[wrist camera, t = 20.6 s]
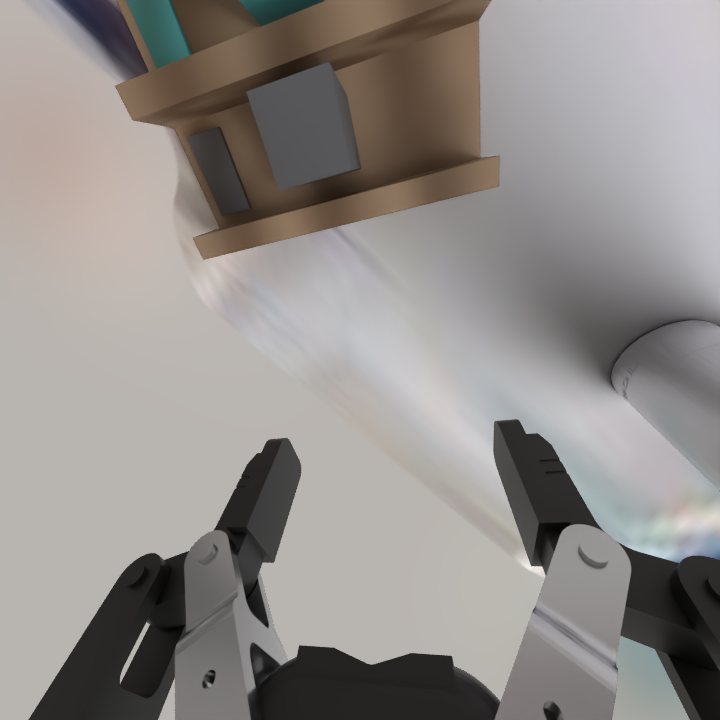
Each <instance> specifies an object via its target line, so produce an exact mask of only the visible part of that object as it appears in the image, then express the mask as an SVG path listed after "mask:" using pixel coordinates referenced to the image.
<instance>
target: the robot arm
mask: <svg viewBox="0 0 720 720" xmlns="http://www.w3.org/2000/svg"><path fill="white" fill-rule="evenodd" d="M611 380H612V385H613V386H614V388H615V390H616V391H617V392H618V393H619V394H620V395H621V396H622V397H623V398H624V399H625V400H626V401H627V402H628V403H629V404H631V405H632V406H633V407H634V408H635V409H636V410H637V411H638V412H639V413H640V414H641V415H642V416H643V417H644V418H645V419H646V420H647V421H648V422H649V423H650V424H651V425H652V426H653V427H654V428H655V429H656V430H657V431H658V432H659V433H660V434H661V435H662V436H663V437H664V438H665V439H666V440H668V441H669V442H670V443H671V444H672V445H673V446H674V447H675V448H676V449H677V450H678V451H679V452H680V453H681V454H682V455H683V456H684V457H685V458H686V459H687V460H688V461H689V462H690V463H691V464H692V465H693V466H694V467H695V468H696V469H698V470H699V471H700V472H701V473H702V474H703V475H704V476H705V477H706V478H707V479H708V480H709V481H710V482H711V483H712V484H713V485H714V486H715V487H716V488H717V489H718V490H719V491H720V326H718V325H716V324H713V323H711V322H706V321H700V320H689V321H682V322H676V323H672V324H669V325H665V326H663V327H660V328H658V329H656V330H653V331H651V332H649V333H648V334H646V335H644V336H642V337H641V338H639V339H638V340H637V341H635V342H634V343H633V344H631V345H630V346H629V347H628V348H627V349H626V350H625V351H624V352H623V353H622V354H621V355H620V357H619V358H618V360H617V361H616V363H615V365H614V367H613V370H612V376H611ZM494 458H495V463H496V466H497V469H498V472H499V475H500V478H501V481H502V484H503V486H504V489H505V492H506V495H507V498H508V501H509V504H510V507H511V509H512V512H513V515H514V518H515V521H516V524H517V527H518V530H519V532H520V535H521V538H522V541H523V544H524V547H525V550H526V553H527V555H528V558H529V561H530V564H531V566H542V567H543V569H544V572H545V575H546V577H545V580H544V583H543V586H542V589H541V593H540V595H539V598H538V600H537V603H536V606H535V608H534V610H533V612H532V614H531V617H530V620H529V622H528V625H527V628H526V631H525V634H524V637H523V640H522V643H521V645H520V648H519V651H518V654H517V657H516V660H515V663H514V666H513V668H512V671H511V674H510V677H509V680H508V683H507V685H506V688H505V691H504V694H503V697H502V700H501V702H500V701H499V699H498V698H497V697H496V696H495V695H494V694H493V693H492V692H491V691H490V690H489V689H488V688H487V687H486V686H485V685H484V684H482V683H481V682H480V681H479V680H477V679H476V678H475V677H473V676H472V675H470V674H468V673H467V672H465V671H464V670H461V669H459V668H457V667H455V666H454V664H453V659H452V656H444V655H430V654H416V653H410V654H407V655H404V656H401V657H398V658H394V659H391V660H387V661H384V662H381V663H378V664H374V665H370V664H366V663H365V662H362V661H360V660H358V659H356V658H354V657H352V656H350V655H348V654H346V653H343V652H341V651H339V650H337V649H335V648H329V647H314V646H299V649H298V654H297V657H295V658H294V659H292V660H290V661H288V659H287V656H286V653H285V650H284V648H283V645H282V643H281V641H280V639H279V637H278V635H277V633H276V631H275V628H274V624H273V620H272V617H271V612H270V608H269V605H268V601H267V597H266V593H265V589H264V585H263V582H262V578H261V575H260V573H259V571H260V568H261V565H262V562H271V563H272V562H273V563H274V561H275V557H276V554H277V551H278V548H279V544H280V541H281V538H282V535H283V531H284V528H285V525H286V522H287V519H288V515H289V512H290V509H291V506H292V502H293V499H294V496H295V493H296V489H297V486H298V483H299V480H300V476H301V464H300V461H299V459H298V457H297V455H296V453H295V451H294V449H293V447H292V444H291V442H290V441H289V439H288V438H281V439H270V440H268V441H267V442H266V444H265V446H264V449H263V451H262V452H261V453H257V454H256V455H255V456H254V458H253V459H252V460H251V461H250V462H249V463H248V464H247V466H246V468H245V470H244V472H243V474H242V478H241V479H240V480H239V482H238V484H237V488H236V489H235V490H234V492H233V494H232V496H231V498H230V500H229V502H228V504H227V506H226V508H225V510H224V512H223V514H222V516H221V518H220V520H219V522H218V524H217V526H216V528H215V529H214V531H212V532H209V533H207V534H205V535H204V536H202V537H201V538H200V539H199V540H198V541H197V542H196V543H195V544H194V545H193V546H192V547H191V549H190V551H188V552H185V553H182V554H179V555H177V556H174V557H171V558H169V559H166V560H163V559H162V558H161V557H160V556H159V555H157V554H155V553H150V554H146V555H144V556H142V557H140V558H138V559H137V560H135V561H134V562H133V563H132V564H130V566H128V567H127V568H126V569H125V571H124V572H123V573H122V574H121V576H120V577H119V578H118V580H117V582H116V583H115V585H114V586H113V588H112V589H111V591H110V593H109V594H108V596H107V597H106V599H105V600H104V602H103V604H102V605H101V607H100V608H99V610H98V611H97V613H96V615H95V616H94V618H93V619H92V621H91V622H90V624H89V626H88V627H87V629H86V630H85V632H84V633H83V635H82V637H81V638H80V640H79V642H78V643H77V644H76V646H75V648H74V649H73V651H72V652H71V654H70V655H69V657H68V659H67V660H66V662H65V663H64V665H63V667H62V668H61V670H60V671H59V673H58V674H57V676H56V677H55V679H54V681H53V682H52V684H51V685H50V687H49V688H48V690H47V692H46V693H45V695H44V696H43V698H42V700H41V701H40V703H39V704H38V706H37V707H36V709H35V710H34V712H33V713H32V715H31V717H30V718H29V720H158V718H159V715H160V713H161V710H162V708H163V705H164V703H165V700H166V698H167V695H168V693H169V690H170V688H171V685H172V683H173V680H174V678H175V720H612V716H613V709H614V703H615V697H616V691H617V682H618V669H617V666H616V657H617V651H618V645H619V639H620V635H621V636H623V637H626V638H629V639H631V640H633V641H636V642H638V643H641V644H644V645H646V646H649V647H651V648H654V649H655V650H656V652H657V654H658V656H659V658H660V660H661V662H662V664H663V666H664V668H665V670H666V672H667V674H668V676H669V678H670V680H671V682H672V684H673V686H674V689H675V690H676V693H677V694H678V697H679V699H680V701H681V703H682V705H683V707H684V708H685V711H686V713H687V715H688V717H689V719H690V720H720V561H719V560H717V559H714V558H710V557H705V556H690V557H687V558H685V559H683V560H682V561H681V562H680V563H676V562H672V561H669V560H665V559H662V558H658V557H655V556H651V555H648V554H644V553H640V552H637V551H634V550H632V549H630V548H627V547H625V546H624V545H622V544H620V543H618V542H617V541H616V540H615V539H613V538H612V537H611V536H610V535H608V534H607V533H605V532H604V531H603V530H602V529H601V528H600V526H599V525H598V524H597V523H596V521H595V520H594V518H593V516H592V514H591V513H590V511H589V509H588V508H587V506H586V504H585V502H584V501H583V499H582V497H581V495H580V494H579V492H578V490H577V488H576V487H575V485H574V483H573V482H572V480H571V478H570V476H569V475H568V474H567V472H566V469H565V468H564V466H563V464H562V462H560V460H559V457H558V456H557V454H556V452H555V450H554V449H553V447H552V445H551V444H550V443H549V442H547V441H546V440H545V439H544V438H543V437H541V436H540V435H539V434H538V433H536V434H526V433H525V431H524V429H523V427H522V425H521V423H520V421H519V420H518V419H515V420H503V421H495V422H494ZM146 622H147V623H149V624H150V626H149V628H148V630H147V632H146V634H145V636H144V638H143V640H142V642H141V644H140V646H139V648H138V650H137V652H136V654H135V656H134V658H133V660H132V662H131V664H130V666H129V668H128V670H127V672H126V674H125V676H124V678H123V680H122V682H121V684H120V675H121V672H122V669H123V667H124V664H125V663H126V661H127V659H128V657H129V654H130V653H131V651H132V649H133V647H134V645H135V643H136V641H137V639H138V637H139V635H140V633H141V631H142V629H143V627H144V625H145V623H146Z"/></svg>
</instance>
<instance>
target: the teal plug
mask: <svg viewBox="0 0 720 720" xmlns="http://www.w3.org/2000/svg"><path fill="white" fill-rule="evenodd" d="M239 1H240V2H241V3H242V4H243V5H244V7H245V8H246V9H247V10H248V11H249V12H250V13H251V15H252V16H253V17H254V18H255V19H256V20H257V21H258V23H259V24H260V25H261V26H264V25H266V24H269V23H271V22H274V21H276V20H279V19H281V18H284V17H286V16H289V15H291V14H294V13H296V12H298V11H301V10H303V9H306V8H308V7H311V6H313V5H316V4H318V3H321V2H323V1H326V0H239Z"/></svg>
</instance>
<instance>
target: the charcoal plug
mask: <svg viewBox="0 0 720 720" xmlns="http://www.w3.org/2000/svg"><path fill="white" fill-rule="evenodd" d="M246 93H247V96H248V99H249V102H250V105H251V108H252V111H253V114H254V117H255V120H256V123H257V126H258V129H259V132H260V135H261V138H262V141H263V144H264V147H265V150H266V153H267V156H268V159H269V162H270V165H271V168H272V171H273V174H274V177H275V180H276V182H277V185H278V188H279V190H281V189H286V188H291V187H296V186H301V185H306V184H310V183H314V182H317V181H321V180H324V179H328V178H331V177H335V176H338V175H341V174H345V173H348V172H352V171H355V170H359V169H361V164H360V159H359V154H358V149H357V144H356V138H355V133H354V128H353V123H352V118H351V113H350V108H349V103H348V98H347V94H346V92H345V91H344V89H343V87H342V85H341V83H340V81H339V79H338V78H337V76H336V74H335V72H334V70H333V68H332V66H331V64H330V63H329V62H326V63H323V64H321V65H318V66H315V67H313V68H310V69H307V70H304V71H302V72H299V73H296V74H293V75H291V76H288V77H285V78H283V79H280V80H277V81H274V82H272V83H269V84H266V85H263V86H261V87H258V88H255V89H253V90H250V91H247V92H246Z"/></svg>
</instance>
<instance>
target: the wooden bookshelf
mask: <svg viewBox="0 0 720 720" xmlns="http://www.w3.org/2000/svg"><path fill="white" fill-rule="evenodd" d="M117 2H118V5H119V7H120V9H121V11H122V13H123V16H124V18H125V20H126V22H127V24H128V27H129V29H130V31H131V33H132V35H133V38H134V40H135V42H136V44H137V46H138V49H139V51H140V53H141V55H142V57H143V60H144V62H145V64H146V66H147V69H148V71H149V72H148V73H145V74H143V75H140V76H138V77H135V78H133V79H130V80H128V81H126V82H123V83H121V84H118V85H116V86H115V87H116V89H117V91H118V93H119V95H120V97H121V99H122V101H123V103H124V105H125V106H126V108H127V111H128V112H129V114H130V116H131V118H132V120H134V121H140V122H146V123H150V124H155V125H161V126H166V127H171V128H175V130H176V132H177V135H178V137H179V139H180V141H181V143H182V146H183V148H184V150H185V152H186V154H187V157H188V159H189V161H190V163H191V165H192V168H193V170H194V172H195V174H196V176H197V179H198V181H199V183H200V185H201V187H202V190H203V192H204V194H205V196H206V198H207V201H208V203H209V205H210V207H211V209H212V212H213V214H214V216H215V218H216V220H217V223H218V225H219V227H220V228H219V229H216V230H213V231H211V232H208V233H205V234H202V235H199V236H197V237H194V238H193V240H194V242H195V244H196V246H197V248H198V250H199V252H200V254H201V256H202V258H203V260H205V259H209V258H213V257H217V256H221V255H225V254H229V253H233V252H237V251H241V250H245V249H249V248H253V247H257V246H261V245H265V244H269V243H273V242H277V241H281V240H285V239H289V238H293V237H297V236H301V235H305V234H309V233H313V232H317V231H321V230H325V229H329V228H333V227H337V226H341V225H345V224H349V223H353V222H357V221H361V220H365V219H369V218H373V217H377V216H381V215H385V214H389V213H393V212H397V211H401V210H405V209H409V208H413V207H417V206H421V205H425V204H429V203H433V202H437V201H441V200H445V199H449V198H453V197H457V196H461V195H465V194H469V193H473V192H477V191H481V190H485V189H489V188H493V187H497V186H499V163H500V156H493V157H484V158H480V81H479V19H480V18H481V16H482V14H483V13H484V11H485V10H486V8H487V6H488V5H489V3H490V2H491V0H326V1H323V2H321V3H318V4H316V5H313V6H311V7H308V8H306V9H303V10H301V11H298V12H296V13H294V14H291V15H289V16H286V17H284V18H281V19H279V20H276V21H274V22H271V23H269V24H266V25H264V26H261V25H260V24H259V23H258V21H257V20H256V19H255V18H254V17H253V16H252V15H251V13H250V12H249V11H248V10H247V9H246V8H245V7H244V5H243V4H242V3H241V2H240V1H239V0H117ZM326 62H329V63H330V64H331V66H332V68H333V70H334V72H335V74H336V76H337V78H338V79H339V81H340V83H341V85H342V87H343V89H344V91H345V92H346V94H347V98H348V103H349V108H350V113H351V118H352V123H353V128H354V133H355V138H356V144H357V149H358V154H359V159H360V164H361V169H359V170H355V171H352V172H348V173H345V174H341V175H338V176H335V177H331V178H328V179H324V180H321V181H317V182H314V183H310V184H306V185H301V186H296V187H291V188H286V189H281V190H279V188H278V185H277V182H276V180H275V177H274V174H273V171H272V168H271V165H270V162H269V159H268V156H267V153H266V150H265V147H264V144H263V141H262V138H261V135H260V132H259V129H258V126H257V123H256V120H255V117H254V114H253V111H252V108H251V105H250V102H249V99H248V96H247V93H246V92H247V91H250V90H253V89H255V88H258V87H261V86H263V85H266V84H269V83H272V82H274V81H277V80H280V79H283V78H285V77H288V76H291V75H293V74H296V73H299V72H302V71H304V70H307V69H310V68H313V67H315V66H318V65H321V64H323V63H326Z"/></svg>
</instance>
